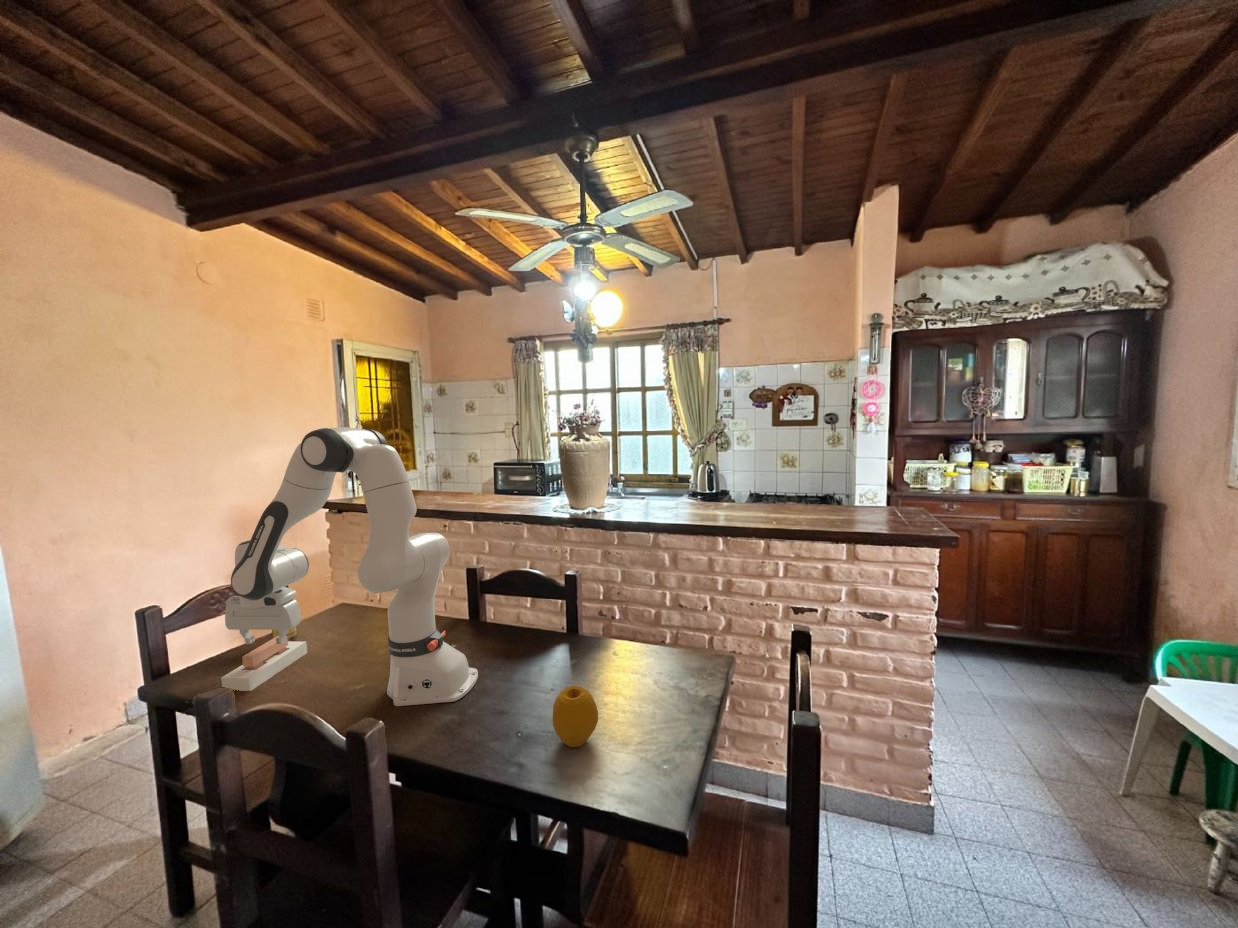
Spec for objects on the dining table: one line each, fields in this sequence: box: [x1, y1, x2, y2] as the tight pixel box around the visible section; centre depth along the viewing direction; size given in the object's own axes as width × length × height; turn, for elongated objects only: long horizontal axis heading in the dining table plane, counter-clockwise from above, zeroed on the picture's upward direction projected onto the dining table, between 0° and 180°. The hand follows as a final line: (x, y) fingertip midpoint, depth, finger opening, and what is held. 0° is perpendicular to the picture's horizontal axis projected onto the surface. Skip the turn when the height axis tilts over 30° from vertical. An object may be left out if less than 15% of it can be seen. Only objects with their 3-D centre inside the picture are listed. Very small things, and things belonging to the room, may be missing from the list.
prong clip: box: [241, 636, 288, 670], centre depth 135 cm, size 3×12×7 cm, turn 174°
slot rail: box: [220, 640, 308, 692], centre depth 135 cm, size 8×20×4 cm, turn 174°
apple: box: [552, 685, 599, 748], centre depth 101 cm, size 10×10×12 cm
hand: (265, 643), depth 134 cm, fingers open, 8 cm apart
